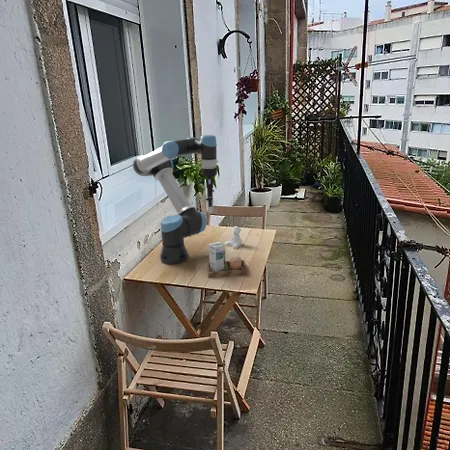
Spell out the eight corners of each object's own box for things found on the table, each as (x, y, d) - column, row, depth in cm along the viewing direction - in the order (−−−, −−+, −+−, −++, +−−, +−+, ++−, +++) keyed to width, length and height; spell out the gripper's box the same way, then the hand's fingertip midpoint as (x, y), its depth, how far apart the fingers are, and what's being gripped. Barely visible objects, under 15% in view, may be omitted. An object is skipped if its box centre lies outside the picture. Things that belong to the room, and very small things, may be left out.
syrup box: (216, 274, 184) (215, 247, 179) (209, 270, 189) (208, 243, 184) (225, 271, 187) (224, 244, 182) (219, 267, 192) (218, 241, 187)
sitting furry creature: (224, 244, 223) (224, 225, 219) (235, 241, 228) (235, 222, 224) (234, 249, 216) (234, 229, 212) (246, 245, 221) (245, 226, 217)
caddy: (208, 279, 182) (208, 272, 181) (207, 268, 193) (207, 262, 192) (247, 276, 183) (247, 270, 182) (244, 266, 195) (244, 260, 193)
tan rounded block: (230, 273, 185) (230, 261, 184) (229, 268, 191) (229, 257, 189) (242, 272, 186) (241, 261, 184) (240, 267, 191) (240, 256, 189)
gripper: (217, 172, 175) (218, 215, 182) (216, 162, 198) (217, 201, 205) (200, 172, 175) (202, 216, 182) (202, 162, 198) (203, 201, 205)
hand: (210, 208), depth 194 cm, fingers open, 13 cm apart
